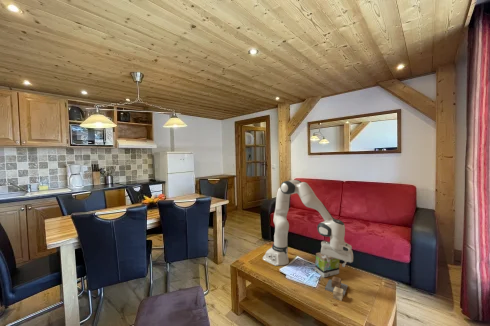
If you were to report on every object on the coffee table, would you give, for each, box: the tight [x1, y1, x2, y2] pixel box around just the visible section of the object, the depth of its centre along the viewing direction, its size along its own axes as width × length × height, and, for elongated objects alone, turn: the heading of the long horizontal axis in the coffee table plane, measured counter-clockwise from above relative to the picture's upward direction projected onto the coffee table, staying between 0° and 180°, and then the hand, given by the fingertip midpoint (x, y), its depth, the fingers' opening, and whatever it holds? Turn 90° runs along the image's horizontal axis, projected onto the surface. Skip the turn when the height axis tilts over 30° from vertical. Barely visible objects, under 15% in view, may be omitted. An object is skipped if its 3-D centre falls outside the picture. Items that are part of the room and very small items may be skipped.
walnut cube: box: [331, 275, 342, 288], centre depth 145 cm, size 5×5×5 cm
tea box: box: [314, 251, 341, 278], centre depth 163 cm, size 15×10×15 cm
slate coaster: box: [324, 279, 348, 297], centre depth 145 cm, size 12×12×1 cm
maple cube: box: [332, 287, 344, 302], centre depth 136 cm, size 5×5×5 cm
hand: (335, 264), depth 144 cm, fingers open, 8 cm apart
